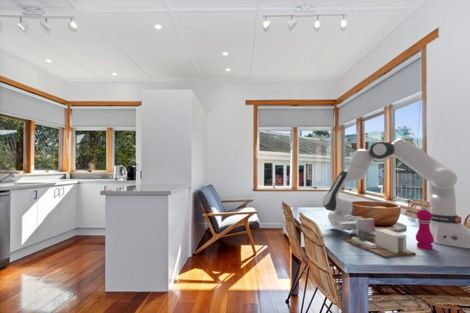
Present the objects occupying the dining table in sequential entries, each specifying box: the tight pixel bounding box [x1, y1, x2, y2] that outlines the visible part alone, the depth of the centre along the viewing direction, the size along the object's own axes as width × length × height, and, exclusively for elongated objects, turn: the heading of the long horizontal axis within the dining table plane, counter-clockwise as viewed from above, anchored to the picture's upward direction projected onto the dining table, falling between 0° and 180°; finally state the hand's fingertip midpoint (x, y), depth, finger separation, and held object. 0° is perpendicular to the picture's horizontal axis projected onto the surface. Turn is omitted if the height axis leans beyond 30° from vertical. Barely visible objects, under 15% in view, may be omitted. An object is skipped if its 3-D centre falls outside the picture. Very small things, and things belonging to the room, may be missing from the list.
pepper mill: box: [415, 206, 434, 251], centre depth 131 cm, size 7×7×20 cm
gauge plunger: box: [355, 217, 376, 238], centre depth 134 cm, size 20×14×10 cm
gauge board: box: [340, 236, 417, 259], centre depth 133 cm, size 30×17×1 cm, turn 13°
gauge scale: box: [351, 236, 377, 248], centre depth 134 cm, size 14×3×2 cm, turn 13°
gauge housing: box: [375, 228, 407, 253], centre depth 127 cm, size 12×6×8 cm, turn 13°
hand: (364, 228), depth 144 cm, fingers closed, pressing on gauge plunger
